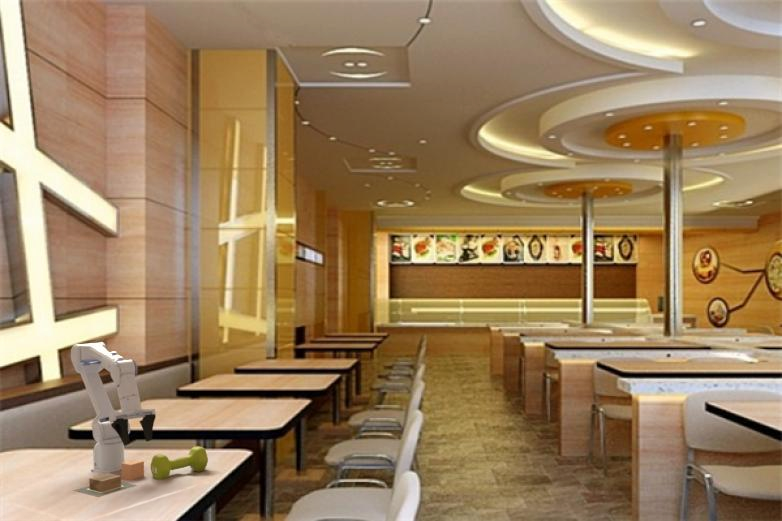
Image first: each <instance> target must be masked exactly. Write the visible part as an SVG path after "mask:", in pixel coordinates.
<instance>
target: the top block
mask: <svg viewBox="0 0 782 521" xmlns="http://www.w3.org/2000/svg"><path fill="white" fill-rule="evenodd" d="M144 463H145V461H144V460H137V459H133V460H129V461H124V463H122V469H121V479H126V480H136V479H139V478H143V477H145V464H144Z"/></svg>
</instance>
